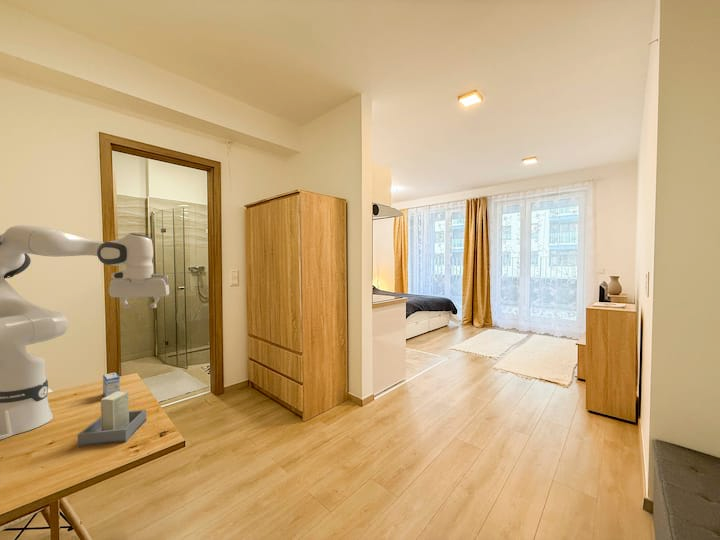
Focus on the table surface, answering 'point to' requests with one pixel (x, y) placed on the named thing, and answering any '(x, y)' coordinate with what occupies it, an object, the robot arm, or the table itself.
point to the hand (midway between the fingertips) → (140, 308)
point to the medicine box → (111, 383)
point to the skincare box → (115, 411)
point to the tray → (111, 431)
